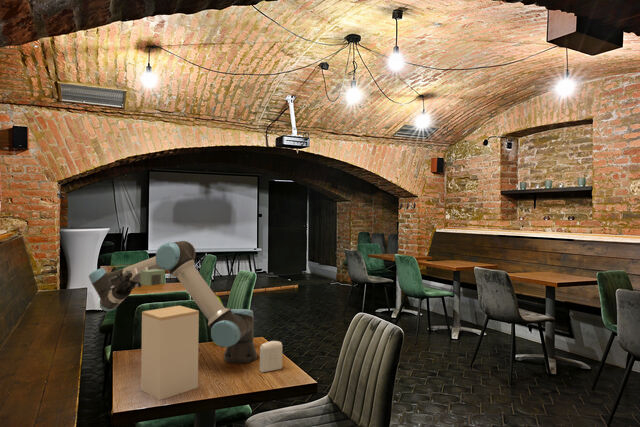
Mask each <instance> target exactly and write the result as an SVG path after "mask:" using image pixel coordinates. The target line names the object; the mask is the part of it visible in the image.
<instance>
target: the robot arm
mask: <svg viewBox="0 0 640 427" xmlns="http://www.w3.org/2000/svg"><path fill="white" fill-rule="evenodd" d="M195 258H196V248H195V246H193V244H192V243H190V242H189V241H186V240H181V241H169V242H165V243H163V244H162V245H160V246H159V247H158V249H157V250H156V253H155V256H153V257H151V258H150V257H149V258H148V259H144V260H142V261H138V262H137V263H134V264H132V265H129V266H126V267H123V268H121V269H117V270H114V271H109V272H107V271H106V270H105V268H98V269H96V270H94V271H92V272H91V273H89V275H88V279H89V281H90V283H91V285H92V286H93V288H94V290H95V292H96V294H97V295H98V298H99V299H100V300H99V308H100V309H101V310H102V311H105V312H111V311H113V310H115V309H116V308H118V307H119V305H120V304H121V303H122V302H123V301H125V299H127V297H129V296H130V295H131V292H132V290H133V289H135V287H136V288H138V289H139V288H141V287H142V286H143V285H142V284H141V283H139V282H134V281H130V280H132V279H133V278H134V277H135V276H136V275H137V274H138V272H137V270H140V271H142V270H153V269H159V270H164V271H167V272H168V273H169V274H170V276H171V277H173V278H177V279H178V281H179V282H180V283H181V285H182V286H183V287H184V289H185V290H186V292H187V293H188V295H189V296H190V297H191V298H192V299H193V301H194V302H195V304H196V306H198V308H199V309H200V311H201V312H202V313H203V315H204V316H205V317H206V319H207V320H208V323H207V327H209V329H210V337H211V340H212V341H213V343H214V345H215V344H217V345H216V346H218V347H220V348H221V347H222V348H225V351H224V354H223V359H224V361H225V362H226V363H229V364H237V365H238V364H242V365H243V364H248V363H251V362H254V361H256V360H257V359H258V353H257V350H256V347H255V343H254V321H255V319H254V318H255V317H254V311H253V310H252V309H247V308H245V309H244V308H226V307H225V306H224V304H223V303H222V304H223V305H222V304H221V302H222V301H221V302H220V301H219V300H218V298H217V295H216V294H215V292H213V290H212V289H211V288H210V286H209V284H208V283H207V282H206V280H205V279H204V277H202V275H201V273H199V271H198V270H197V269H196V267H195V265H194V264H195ZM126 270H132V271H131V272H130V273H129V274H128V275H126ZM129 279H130V280H129Z"/></svg>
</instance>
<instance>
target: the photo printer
mask: <svg viewBox="0 0 640 427" xmlns="http://www.w3.org/2000/svg"><path fill="white" fill-rule="evenodd" d="M282 368H283V344H282V342H281V341H277V340H270V341H266V342H264V343H262V344H260V346H259V372H260V373H265V372H271V371H278V370H281V369H282Z"/></svg>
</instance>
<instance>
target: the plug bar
mask: <svg viewBox="0 0 640 427" xmlns="http://www.w3.org/2000/svg"><path fill="white" fill-rule="evenodd" d="M131 271H132V270H126V275H128V274H129V273H130V272H131ZM137 272H138V274H137V275H136V276H135V277H134V278H133V279H132V280H130V279H129V280H130V281H134V282H139V283H141V284H142V285H141V286H147V287H149V286H154V285H155V286H156V285H163V284H164V285H165V270H159V269H153V270H142V271H140V270H137Z"/></svg>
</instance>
